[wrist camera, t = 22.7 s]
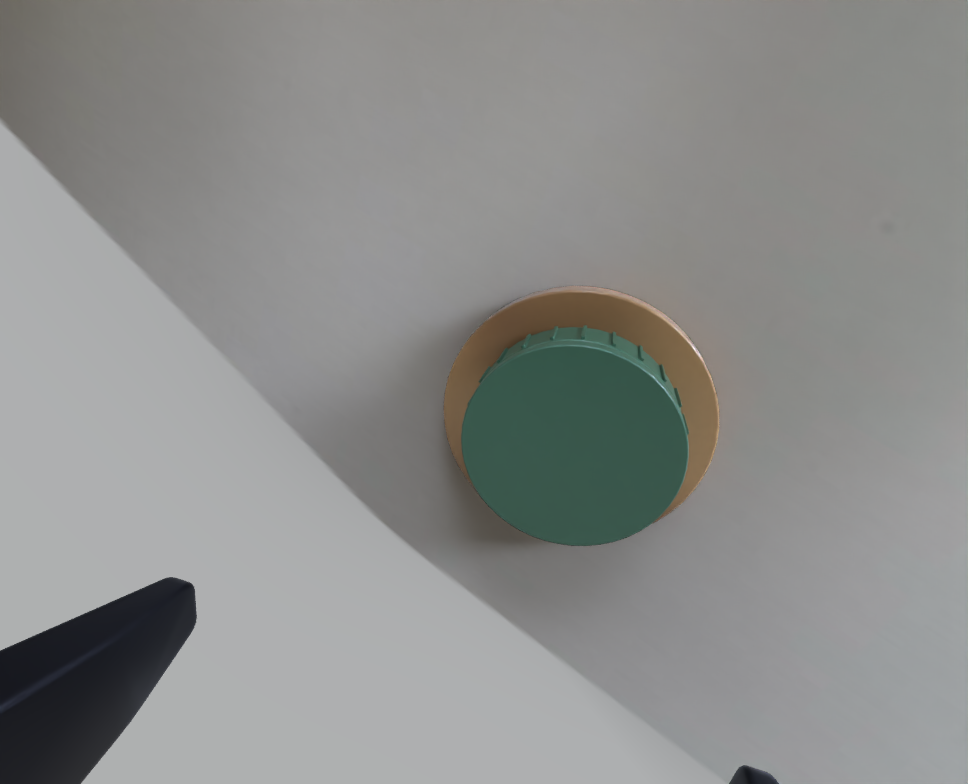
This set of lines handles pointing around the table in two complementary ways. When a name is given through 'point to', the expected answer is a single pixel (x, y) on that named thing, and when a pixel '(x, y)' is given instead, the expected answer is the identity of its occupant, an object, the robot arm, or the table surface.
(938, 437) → the table surface
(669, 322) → the coaster
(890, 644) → the table surface
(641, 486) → the jar lid
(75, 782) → the robot arm
